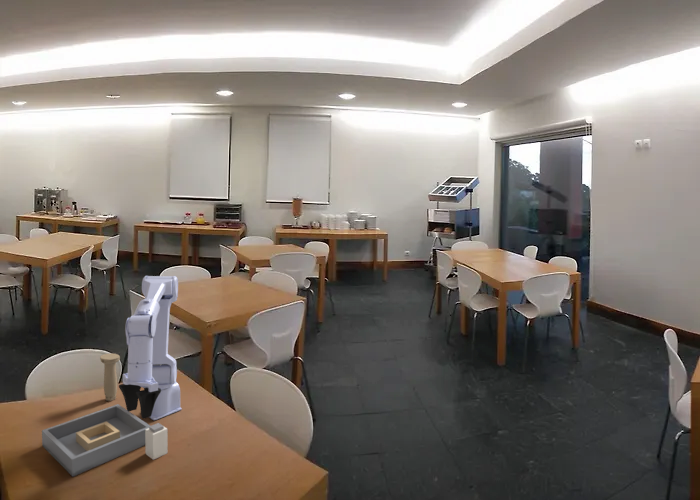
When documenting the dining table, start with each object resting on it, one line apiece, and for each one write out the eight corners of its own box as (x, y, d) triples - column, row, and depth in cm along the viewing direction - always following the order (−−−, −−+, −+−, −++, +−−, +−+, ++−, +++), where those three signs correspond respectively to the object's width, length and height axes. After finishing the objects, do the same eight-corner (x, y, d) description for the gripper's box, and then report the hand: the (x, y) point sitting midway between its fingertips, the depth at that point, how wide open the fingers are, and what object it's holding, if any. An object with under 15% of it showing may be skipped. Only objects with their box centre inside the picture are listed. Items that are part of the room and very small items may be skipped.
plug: (159, 447, 117) (159, 420, 116) (167, 453, 114) (167, 425, 114) (145, 453, 114) (145, 426, 113) (153, 459, 111) (153, 432, 110)
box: (118, 417, 131) (118, 404, 130) (152, 441, 119) (152, 426, 119) (42, 445, 115) (41, 430, 114) (72, 476, 103) (72, 459, 103)
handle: (110, 404, 139) (109, 360, 137) (97, 399, 142) (96, 356, 140) (123, 398, 143) (122, 356, 141) (111, 394, 146) (110, 352, 144)
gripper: (111, 359, 111) (110, 411, 111) (138, 369, 102) (137, 425, 102) (138, 354, 117) (137, 404, 116) (166, 363, 108) (165, 416, 108)
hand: (139, 413), depth 110 cm, fingers open, 7 cm apart
